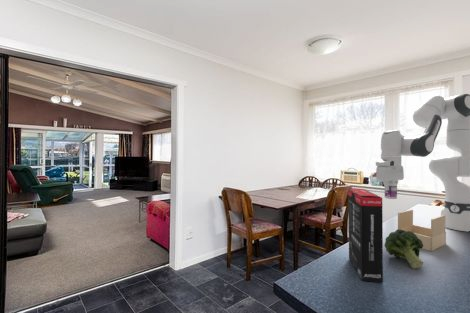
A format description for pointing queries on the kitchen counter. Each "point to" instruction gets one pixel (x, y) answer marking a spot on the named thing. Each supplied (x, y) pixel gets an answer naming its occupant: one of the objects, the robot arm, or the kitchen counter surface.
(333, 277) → the kitchen counter surface
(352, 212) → the graphics card box
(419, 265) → the vegetable
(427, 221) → the kitchen counter surface
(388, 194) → the pill bottle
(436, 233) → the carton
